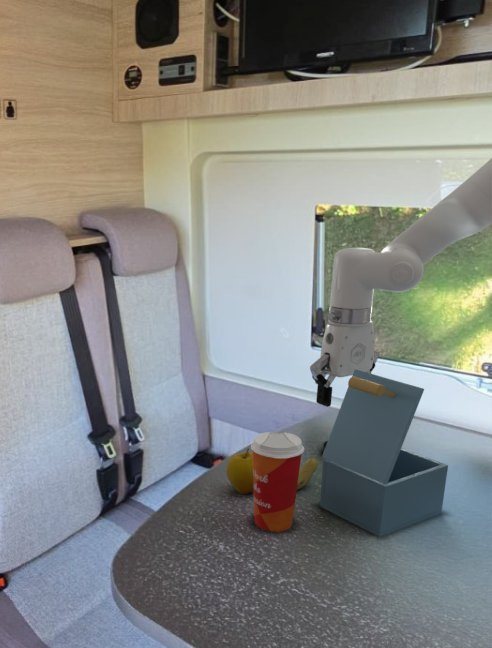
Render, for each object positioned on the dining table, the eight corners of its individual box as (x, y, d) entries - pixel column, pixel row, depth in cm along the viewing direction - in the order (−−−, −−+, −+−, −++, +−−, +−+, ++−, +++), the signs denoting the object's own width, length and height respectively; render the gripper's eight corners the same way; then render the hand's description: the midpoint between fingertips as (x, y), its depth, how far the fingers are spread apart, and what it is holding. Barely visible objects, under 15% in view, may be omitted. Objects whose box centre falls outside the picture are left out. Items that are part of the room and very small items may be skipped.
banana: (307, 474, 136) (309, 455, 135) (320, 478, 134) (321, 458, 133) (281, 493, 129) (282, 473, 128) (294, 497, 128) (295, 476, 126)
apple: (256, 482, 134) (258, 442, 131) (266, 497, 128) (268, 456, 125) (222, 484, 134) (223, 444, 131) (230, 499, 128) (231, 458, 125)
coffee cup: (247, 510, 124) (250, 429, 119) (296, 512, 122) (302, 430, 117) (248, 534, 116) (251, 448, 111) (301, 537, 115) (307, 450, 109)
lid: (357, 370, 119) (336, 362, 116) (424, 389, 108) (402, 381, 105) (324, 457, 121) (302, 452, 118) (387, 484, 110) (364, 479, 108)
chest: (379, 486, 130) (383, 441, 127) (441, 513, 120) (448, 465, 117) (319, 506, 124) (323, 459, 121) (379, 537, 113) (385, 486, 110)
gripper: (331, 325, 130) (323, 413, 136) (398, 312, 137) (387, 397, 143) (301, 317, 136) (294, 403, 142) (366, 306, 143) (357, 387, 149)
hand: (341, 400), depth 143 cm, fingers open, 9 cm apart
